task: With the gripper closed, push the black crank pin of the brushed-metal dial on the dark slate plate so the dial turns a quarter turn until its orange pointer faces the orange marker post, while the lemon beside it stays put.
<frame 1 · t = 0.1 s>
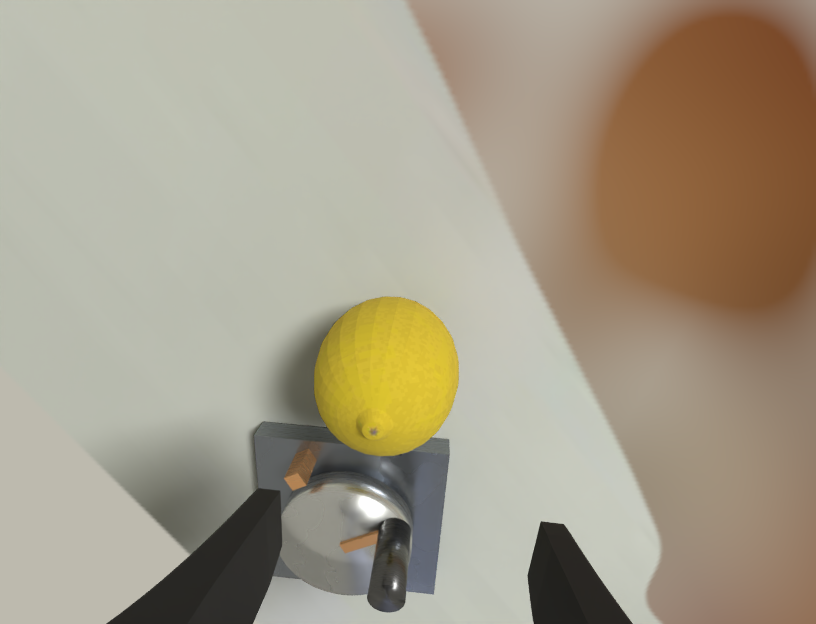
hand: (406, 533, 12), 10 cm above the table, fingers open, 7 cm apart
dial: (338, 564, 21), point 4 cm above the table, hinge at 0.0°
lemon: (398, 328, 21), on the table
dial plate: (353, 503, 25), on the table
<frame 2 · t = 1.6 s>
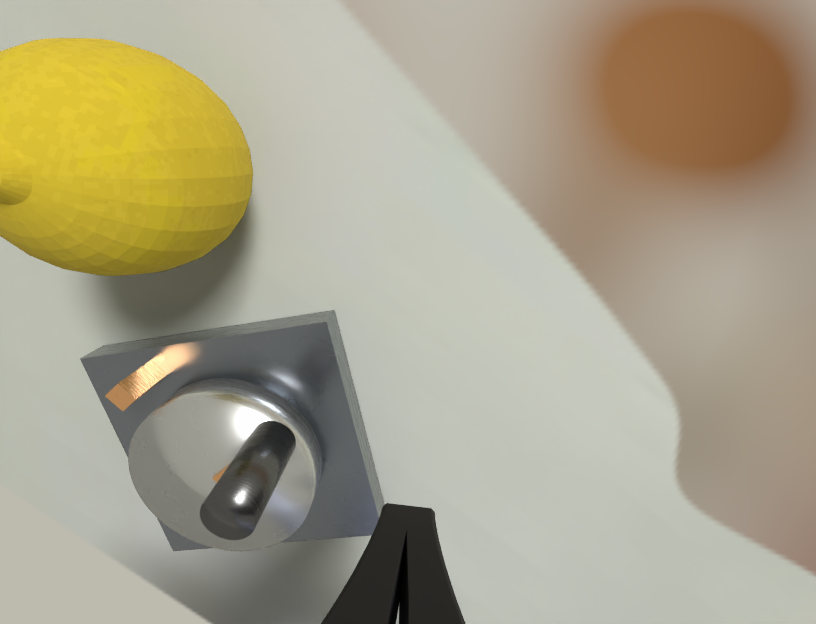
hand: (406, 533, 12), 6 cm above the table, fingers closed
dial: (206, 501, 15), point 4 cm above the table, hinge at 0.0°
lemon: (213, 162, 15), on the table
dial plate: (252, 433, 19), on the table
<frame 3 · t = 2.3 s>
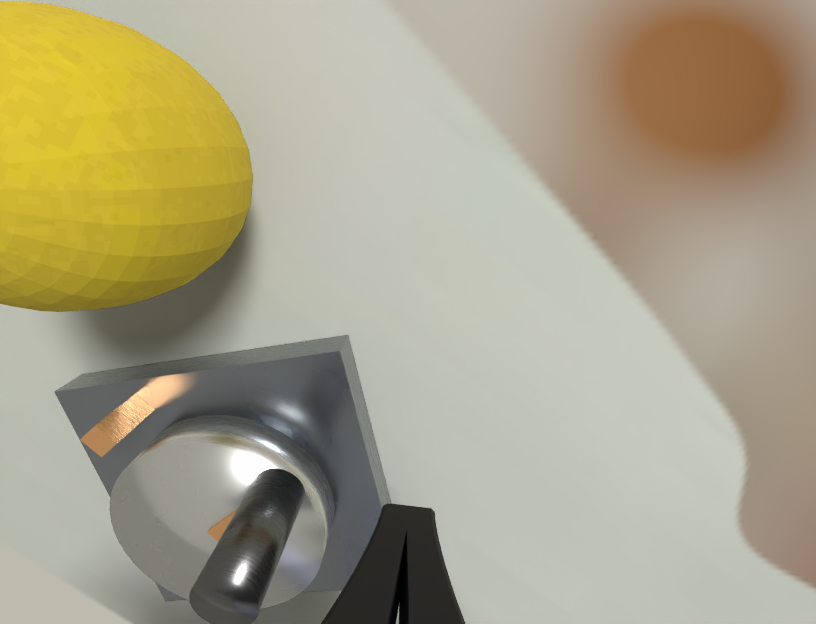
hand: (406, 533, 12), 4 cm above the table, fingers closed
dial: (199, 562, 13), point 4 cm above the table, hinge at 0.0°
lemon: (206, 163, 13), on the table
dial plate: (253, 471, 17), on the table
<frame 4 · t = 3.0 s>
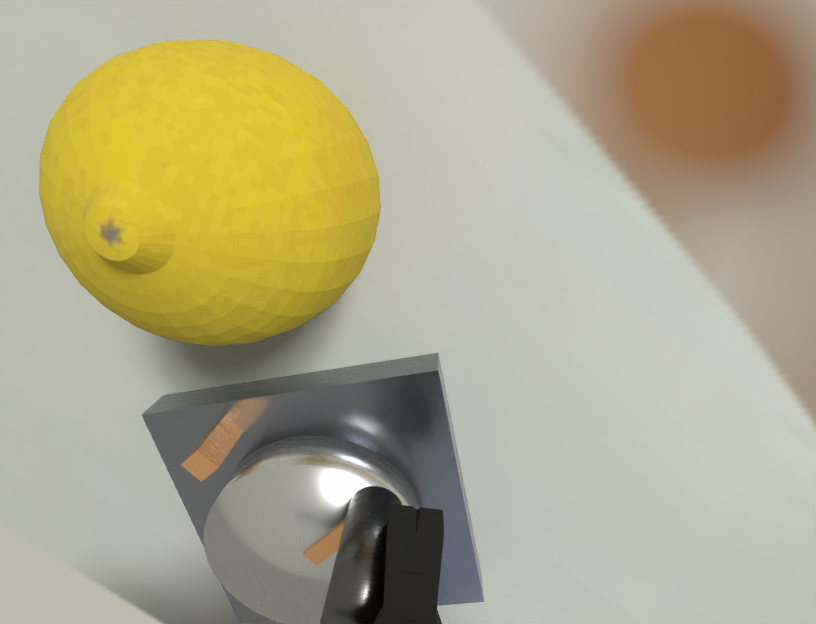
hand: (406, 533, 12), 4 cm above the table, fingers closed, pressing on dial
dial: (302, 585, 13), point 4 cm above the table, hinge at 3.6°, touching gripper
lemon: (303, 185, 13), on the table
dial plate: (331, 489, 16), on the table
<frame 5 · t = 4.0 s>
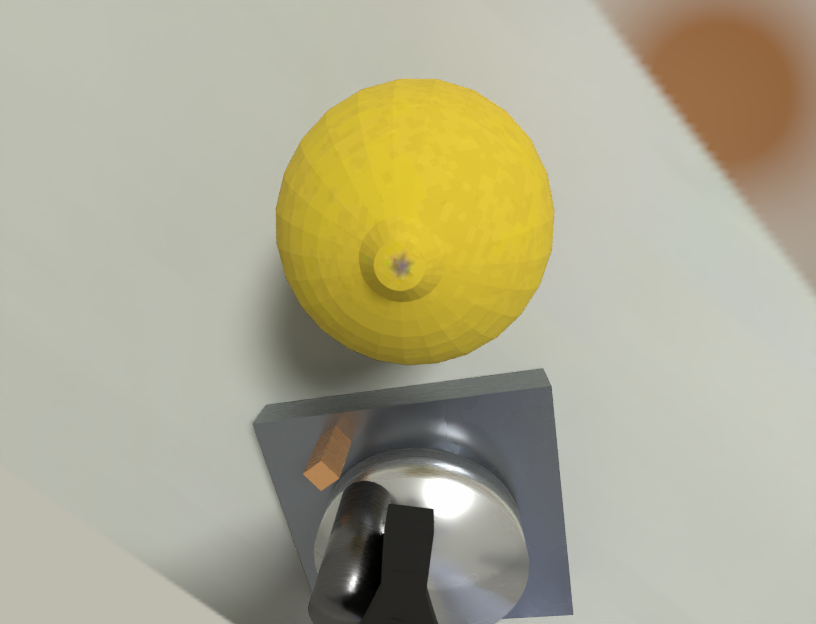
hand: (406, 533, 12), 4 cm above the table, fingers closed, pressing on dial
dial: (417, 595, 13), point 4 cm above the table, hinge at 82.7°, touching gripper
lemon: (424, 205, 13), on the table
dial plate: (423, 500, 17), on the table
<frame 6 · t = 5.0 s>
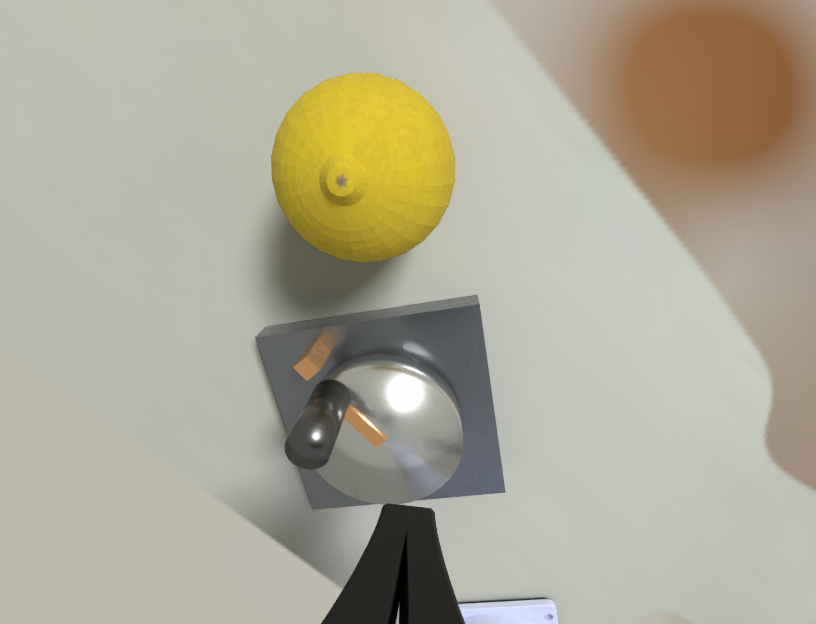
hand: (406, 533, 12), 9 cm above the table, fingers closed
dial: (378, 457, 18), point 4 cm above the table, hinge at 92.7°
lemon: (384, 166, 18), on the table
dial plate: (389, 404, 21), on the table
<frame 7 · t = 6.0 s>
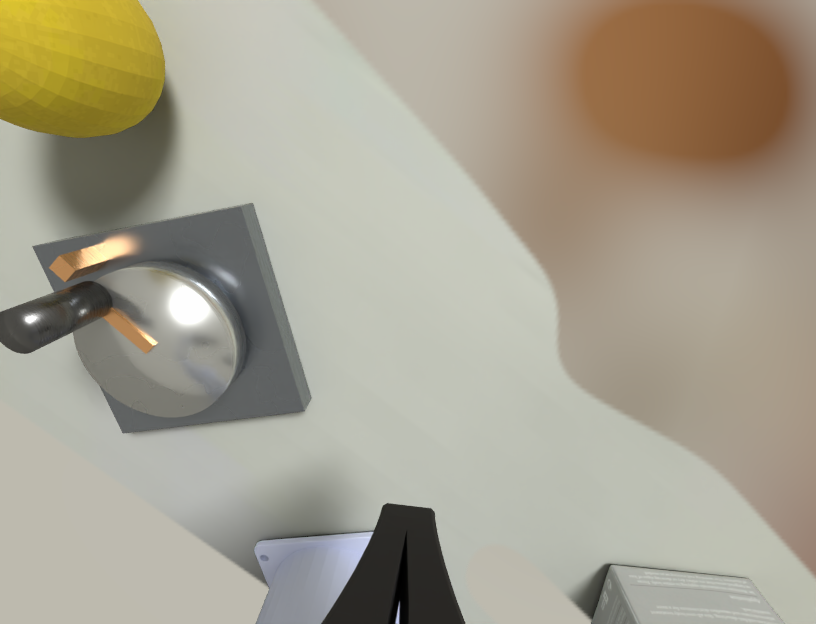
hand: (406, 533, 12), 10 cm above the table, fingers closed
dial: (136, 358, 18), point 4 cm above the table, hinge at 92.8°
skincare box: (666, 598, 26), on the table
lemon: (141, 66, 18), on the table
dial plate: (189, 323, 21), on the table
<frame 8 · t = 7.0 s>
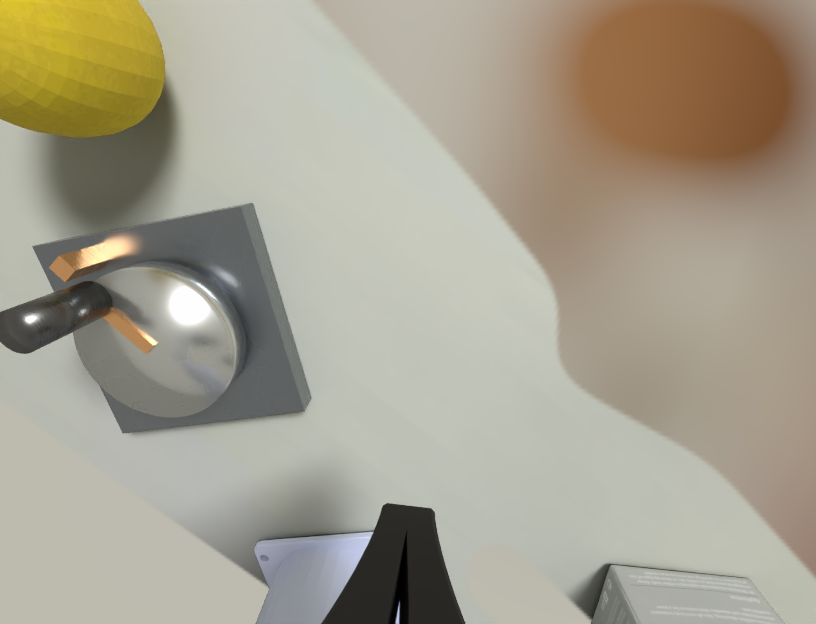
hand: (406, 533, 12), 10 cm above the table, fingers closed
dial: (136, 358, 18), point 4 cm above the table, hinge at 92.8°
skincare box: (666, 598, 26), on the table
lemon: (141, 66, 18), on the table
dial plate: (189, 323, 21), on the table
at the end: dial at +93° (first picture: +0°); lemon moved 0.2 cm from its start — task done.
